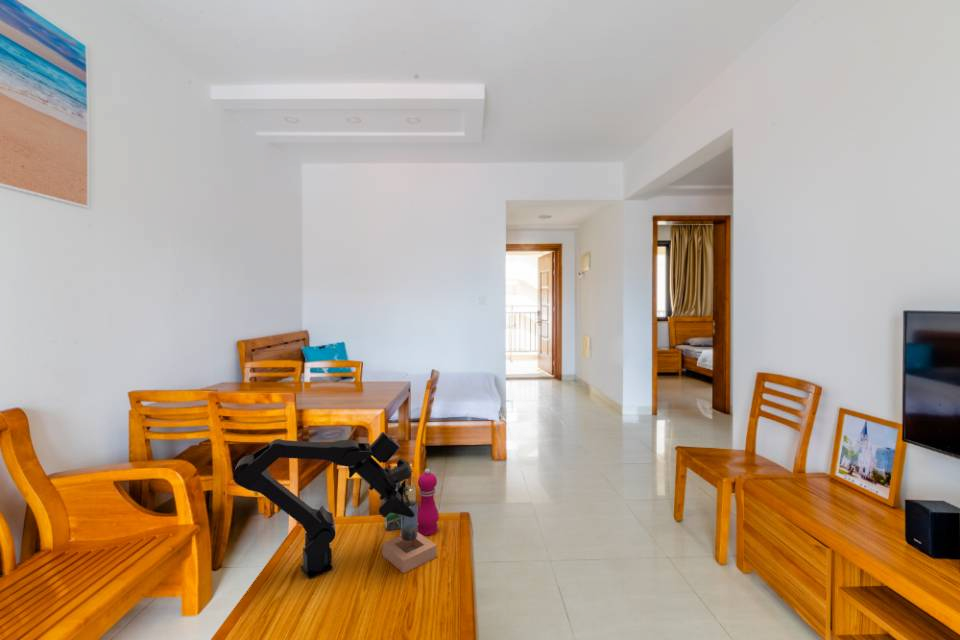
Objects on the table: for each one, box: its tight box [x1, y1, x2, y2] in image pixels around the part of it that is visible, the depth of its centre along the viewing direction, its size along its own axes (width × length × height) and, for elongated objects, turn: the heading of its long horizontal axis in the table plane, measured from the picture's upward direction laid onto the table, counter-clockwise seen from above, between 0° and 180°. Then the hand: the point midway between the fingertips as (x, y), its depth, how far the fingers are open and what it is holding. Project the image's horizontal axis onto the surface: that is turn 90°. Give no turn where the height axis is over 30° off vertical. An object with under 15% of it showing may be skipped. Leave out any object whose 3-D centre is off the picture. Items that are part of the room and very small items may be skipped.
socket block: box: [382, 531, 438, 574], centre depth 125 cm, size 11×11×4 cm
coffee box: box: [383, 483, 410, 532], centre depth 141 cm, size 8×3×13 cm, turn 111°
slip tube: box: [400, 485, 419, 541], centre depth 125 cm, size 5×5×14 cm
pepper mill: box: [417, 468, 440, 536], centre depth 139 cm, size 7×7×20 cm
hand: (414, 511), depth 125 cm, fingers closed on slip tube, 5 cm apart
